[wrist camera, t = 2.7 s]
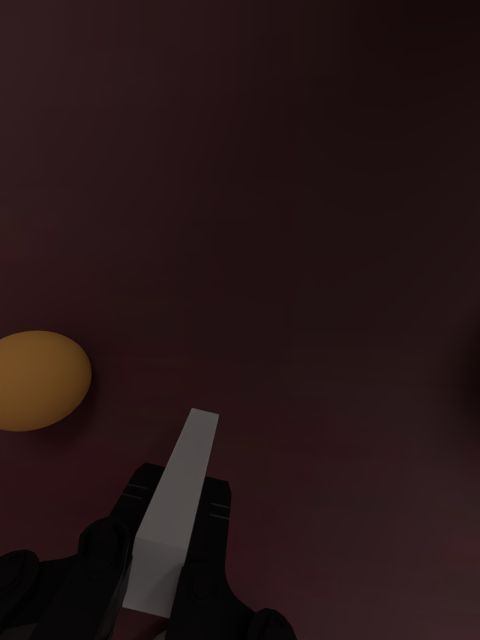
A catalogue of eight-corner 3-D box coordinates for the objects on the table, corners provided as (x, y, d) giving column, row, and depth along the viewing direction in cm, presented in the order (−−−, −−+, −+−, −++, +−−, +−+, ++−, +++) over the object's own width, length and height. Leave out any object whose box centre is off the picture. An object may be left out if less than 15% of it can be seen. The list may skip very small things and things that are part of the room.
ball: (33, 312, 16) (-75, 335, 11) (114, 332, 16) (45, 364, 11) (29, 387, 18) (-70, 440, 12) (105, 405, 18) (39, 467, 12)
